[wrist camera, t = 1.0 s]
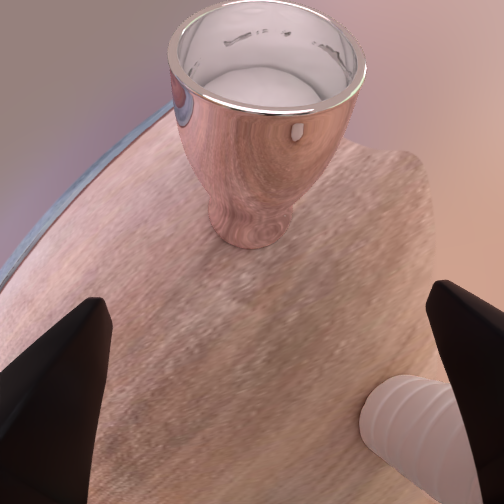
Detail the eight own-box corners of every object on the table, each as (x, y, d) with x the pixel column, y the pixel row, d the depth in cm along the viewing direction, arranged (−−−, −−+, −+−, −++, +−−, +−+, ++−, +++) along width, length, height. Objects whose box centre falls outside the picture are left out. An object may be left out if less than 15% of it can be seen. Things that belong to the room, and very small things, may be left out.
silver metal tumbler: (204, 259, 22) (150, 130, 7) (200, 170, 24) (169, 0, 9) (303, 251, 22) (402, 125, 8) (291, 165, 24) (341, 0, 10)
